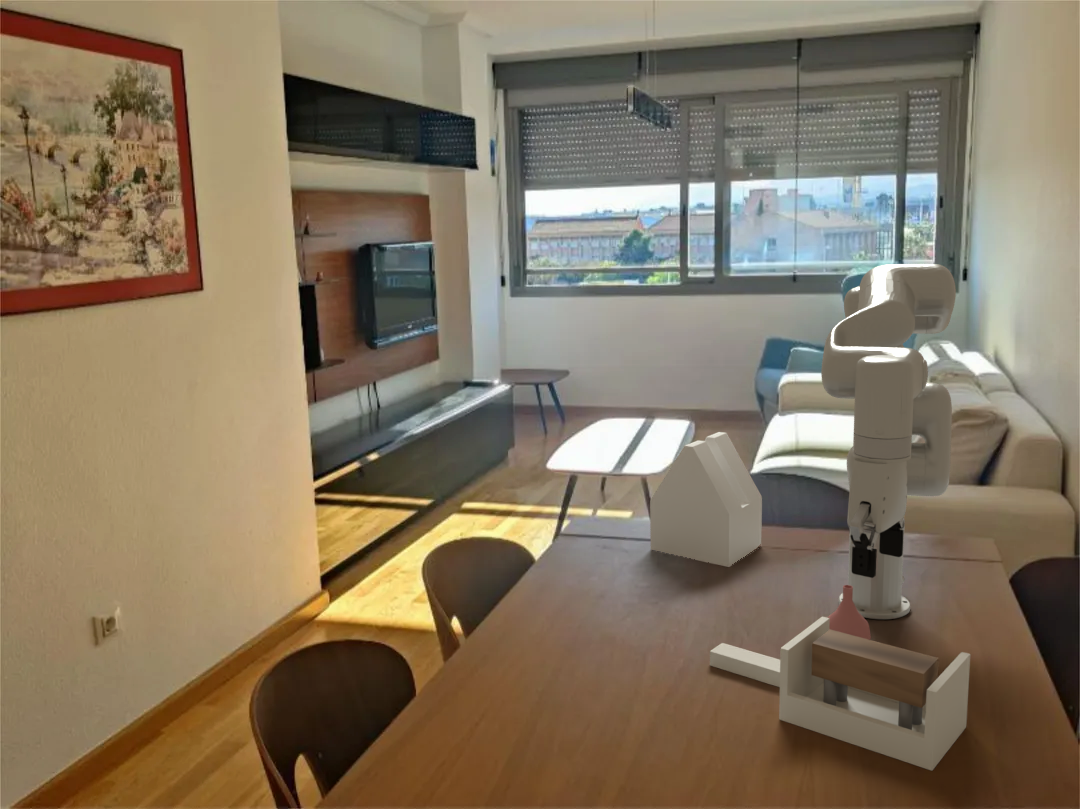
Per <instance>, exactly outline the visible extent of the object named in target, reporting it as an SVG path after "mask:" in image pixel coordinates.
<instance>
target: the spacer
mask: <svg viewBox="0 0 1080 809" xmlns="http://www.w3.org/2000/svg"><path fill="white" fill-rule="evenodd" d="M709 666H710V667H714V668H718V669H720V670H722V671H723V670H724V671H725V672H726V671H727V672H730V673H733V674H737V675H739V676H743V677H745V678H746V677H747V678H748V679H749V678H750V679H752V680H756V681H759V682H762V683H765V684H768V685H771V686H775V687H778V688H780V658H776V657H772V656H769V655H765V654H762V653H759V652H755V651H751V650H748V649H745V648H741V647H737V646H735V645H731V644H728V643H724V642H721V643H720V644H719V645H717V646H715V647H714V648H713V649H712V648H711V650H710V651H709Z"/></svg>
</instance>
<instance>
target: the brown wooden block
mask: <svg viewBox="0 0 1080 809" xmlns="http://www.w3.org/2000/svg"><path fill="white" fill-rule="evenodd" d="M939 662H940V658H939V657H937V656H934V655H933V656H932V655H929V654H925V653H921V652H917V651H913V650H911V649H910V650H909V649H906V648H903V647H902V648H901V647H898V646H894V645H890V644H887V643H883V642H879V641H875V640H871V639H870V640H868V639H865V638H861V637H857V636H853V635H849V634H846V633H842V632H838V631H834V630H828V631H827V632H826V633H825V634H823V635H822V636H821V637H819V638H818V639H817V640H816V641H814V642H813V643H812V672H811V675H813V676H816V677H820V678H823V679H826V680H830V681H833V682H836V683H840V684H843V685H847V686H850V687H853V688H857V689H860V690H863V691H867V692H870V693H873V694H877V695H880V696H883V697H887V698H890V699H893V700H897V701H900V702H904V703H907V704H910V705H914V706H917V707H920V708H922V707H923V706H924V705H925V704H926V695H927V689H928V688H929V687H930V686H931V685H932V684H933V682H934V681H935V680H936V679H937V678H938V677H939Z"/></svg>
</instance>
